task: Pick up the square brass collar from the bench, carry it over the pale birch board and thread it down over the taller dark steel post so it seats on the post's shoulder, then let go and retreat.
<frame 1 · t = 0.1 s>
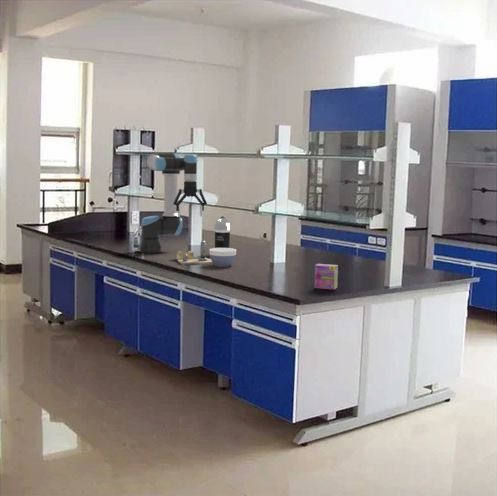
hand: (190, 216, 425), 28 cm above the worktop, fingers open, 13 cm apart
birch board: (196, 262, 428), on the worktop
bowl: (222, 265, 420), on the worktop
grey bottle: (222, 255, 462), on the worktop
brass collar: (184, 259, 438), on the worktop
tall steel post: (202, 262, 430), resting on birch board
box: (325, 288, 357), on the worktop
short steel post: (185, 263, 426), resting on birch board
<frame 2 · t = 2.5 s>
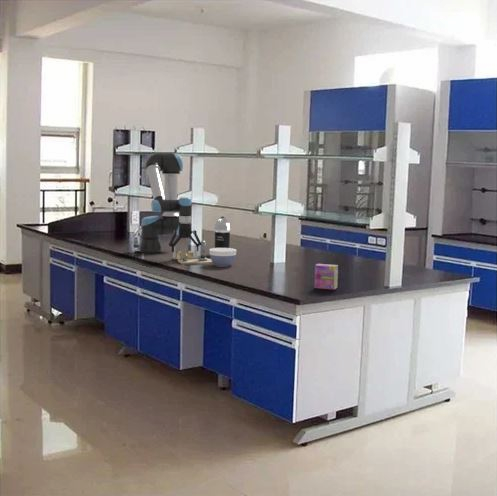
hand: (185, 257, 438), 2 cm above the worktop, fingers open, 13 cm apart
nothing on the worktop moved.
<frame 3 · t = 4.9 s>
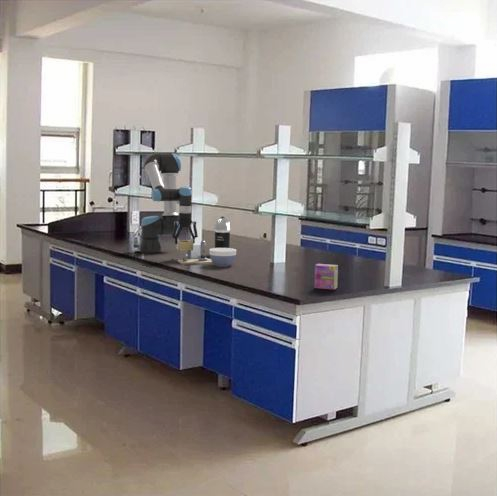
hand: (184, 248, 438), 7 cm above the worktop, fingers closed on brass collar, 8 cm apart
brass collar: (184, 249, 438), point 6 cm above the worktop, touching gripper
everything else where it was.
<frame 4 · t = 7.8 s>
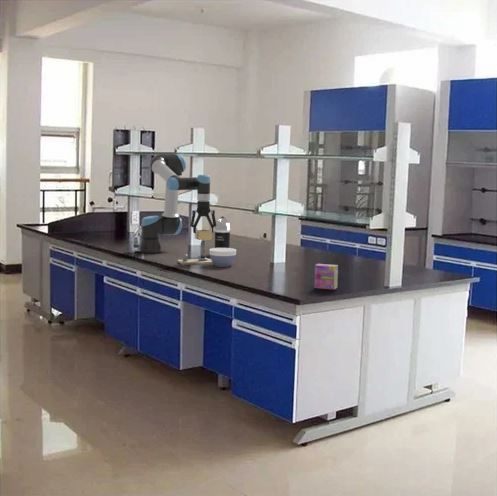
hand: (203, 238, 428), 15 cm above the worktop, fingers closed on brass collar, 8 cm apart
brass collar: (203, 238, 428), point 14 cm above the worktop, touching gripper
everything else where it was.
when the fingers open (3 cm above the worktop, at t = 10.6 s): brass collar stays where it is, resting on tall steel post.
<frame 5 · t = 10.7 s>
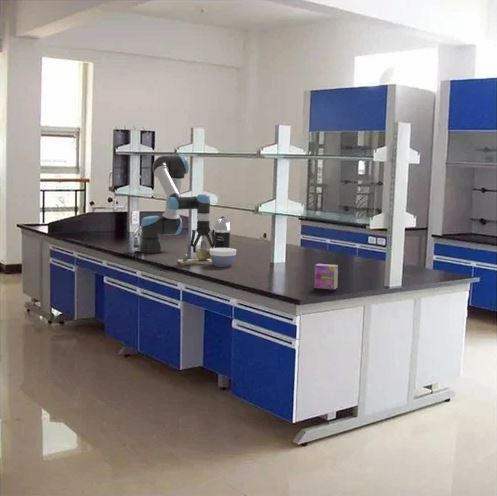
hand: (203, 257, 429), 3 cm above the worktop, fingers open, 8 cm apart
brass collar: (203, 258, 429), point 3 cm above the worktop, touching tall steel post
everything else where it was.
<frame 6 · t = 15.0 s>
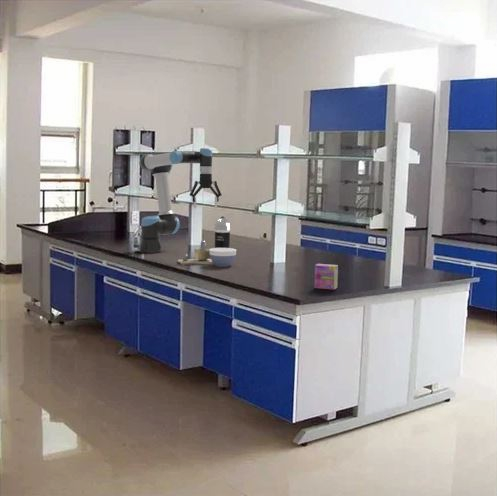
hand: (205, 207, 445), 32 cm above the worktop, fingers open, 13 cm apart
nothing on the worktop moved.
at the end: brass collar 0.1 cm off-centre on the tall steel post, point 2.7 cm above the tall steel post's base; the gripper is holding nothing; brass collar tilted 0° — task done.
